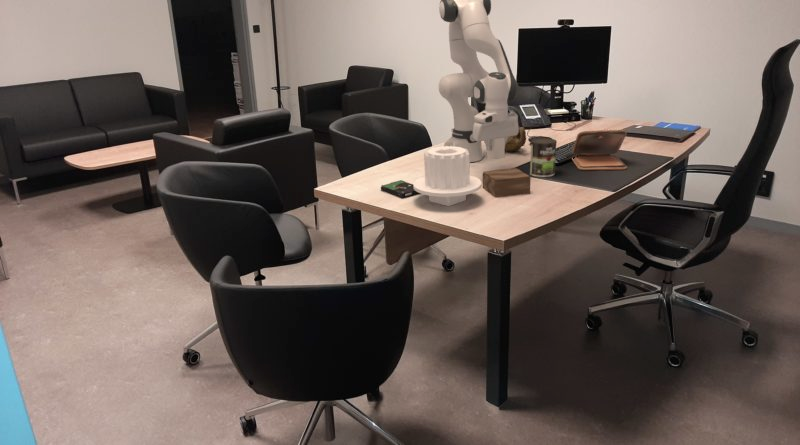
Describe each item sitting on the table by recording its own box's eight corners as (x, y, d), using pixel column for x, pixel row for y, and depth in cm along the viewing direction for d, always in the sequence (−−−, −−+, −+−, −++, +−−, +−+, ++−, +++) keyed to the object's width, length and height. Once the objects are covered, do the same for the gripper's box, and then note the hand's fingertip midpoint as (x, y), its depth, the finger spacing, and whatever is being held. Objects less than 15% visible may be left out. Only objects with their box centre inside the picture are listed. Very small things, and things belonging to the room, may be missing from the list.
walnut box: (482, 188, 246) (482, 171, 244) (515, 184, 249) (516, 167, 247) (495, 198, 234) (495, 180, 232) (529, 194, 237) (530, 176, 235)
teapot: (489, 148, 305) (489, 117, 300) (509, 145, 310) (509, 115, 305) (514, 157, 287) (515, 125, 282) (535, 154, 292) (536, 122, 286)
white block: (486, 156, 255) (487, 136, 252) (496, 154, 257) (497, 135, 254) (494, 158, 251) (494, 139, 248) (504, 157, 253) (504, 137, 250)
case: (617, 158, 280) (619, 122, 275) (628, 170, 261) (631, 132, 255) (570, 159, 283) (572, 123, 277) (578, 171, 263) (580, 134, 258)
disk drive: (424, 194, 244) (401, 186, 255) (423, 187, 243) (400, 179, 254) (402, 200, 238) (380, 191, 249) (402, 193, 237) (379, 184, 248)
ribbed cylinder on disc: (400, 202, 234) (397, 152, 227) (444, 186, 250) (443, 139, 244) (450, 216, 217) (449, 163, 210) (495, 198, 233) (495, 148, 227)
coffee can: (559, 175, 258) (561, 141, 253) (536, 178, 255) (538, 144, 250) (547, 169, 267) (548, 136, 262) (525, 172, 265) (526, 139, 260)
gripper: (512, 110, 255) (511, 143, 260) (470, 116, 246) (470, 151, 251) (522, 113, 250) (521, 146, 255) (479, 119, 241) (479, 154, 246)
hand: (495, 149), depth 253 cm, fingers closed on white block, 5 cm apart
